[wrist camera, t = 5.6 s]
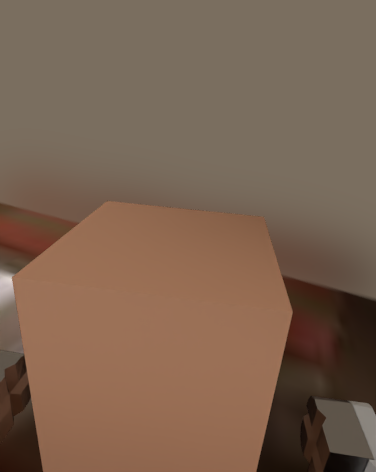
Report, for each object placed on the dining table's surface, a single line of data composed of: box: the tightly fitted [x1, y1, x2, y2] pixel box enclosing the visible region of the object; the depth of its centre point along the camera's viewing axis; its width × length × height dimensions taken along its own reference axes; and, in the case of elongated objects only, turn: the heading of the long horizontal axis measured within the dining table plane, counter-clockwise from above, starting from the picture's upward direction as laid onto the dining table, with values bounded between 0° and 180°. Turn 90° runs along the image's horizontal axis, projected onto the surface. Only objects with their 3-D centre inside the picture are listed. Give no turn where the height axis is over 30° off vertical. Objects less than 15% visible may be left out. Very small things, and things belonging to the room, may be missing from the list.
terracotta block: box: [12, 201, 293, 472], centre depth 9 cm, size 4×4×11 cm
